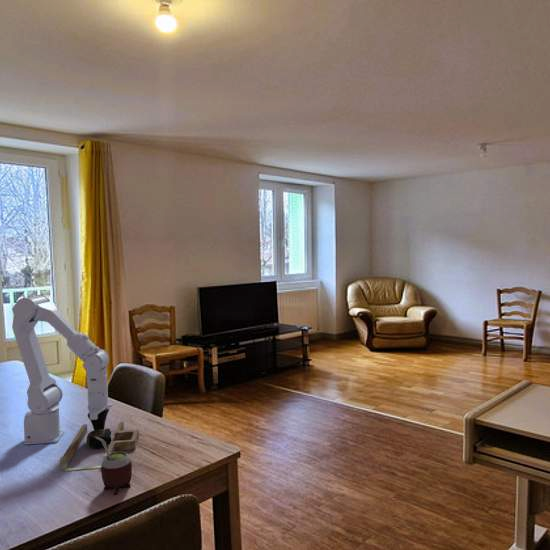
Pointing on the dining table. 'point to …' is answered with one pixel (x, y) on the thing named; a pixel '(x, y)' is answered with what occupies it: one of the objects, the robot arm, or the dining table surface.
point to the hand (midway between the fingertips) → (99, 434)
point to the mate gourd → (116, 470)
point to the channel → (122, 442)
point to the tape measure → (101, 434)
